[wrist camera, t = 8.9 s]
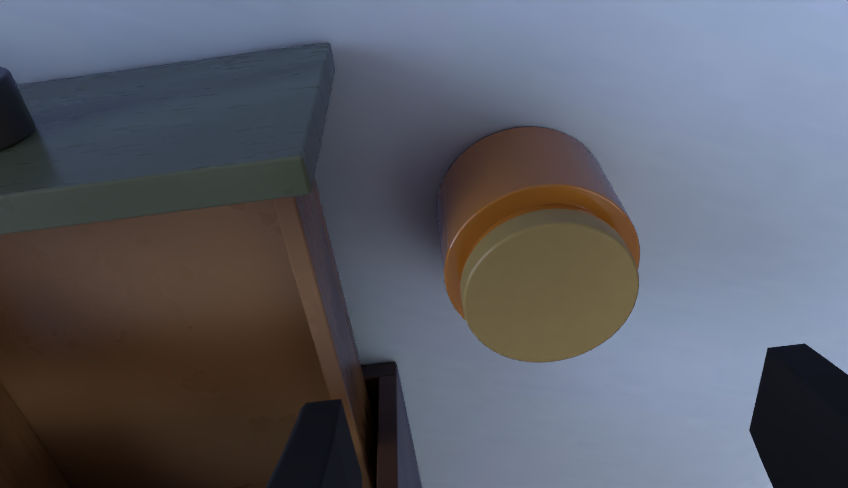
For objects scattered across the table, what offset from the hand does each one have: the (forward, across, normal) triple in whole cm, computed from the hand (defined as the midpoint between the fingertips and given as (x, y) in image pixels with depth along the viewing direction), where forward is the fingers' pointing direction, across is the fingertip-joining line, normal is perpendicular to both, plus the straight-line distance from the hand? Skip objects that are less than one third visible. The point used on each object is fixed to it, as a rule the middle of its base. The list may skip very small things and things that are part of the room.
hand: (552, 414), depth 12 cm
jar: (+8, -1, +1) cm, 9 cm away
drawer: (+8, +10, +3) cm, 13 cm away
